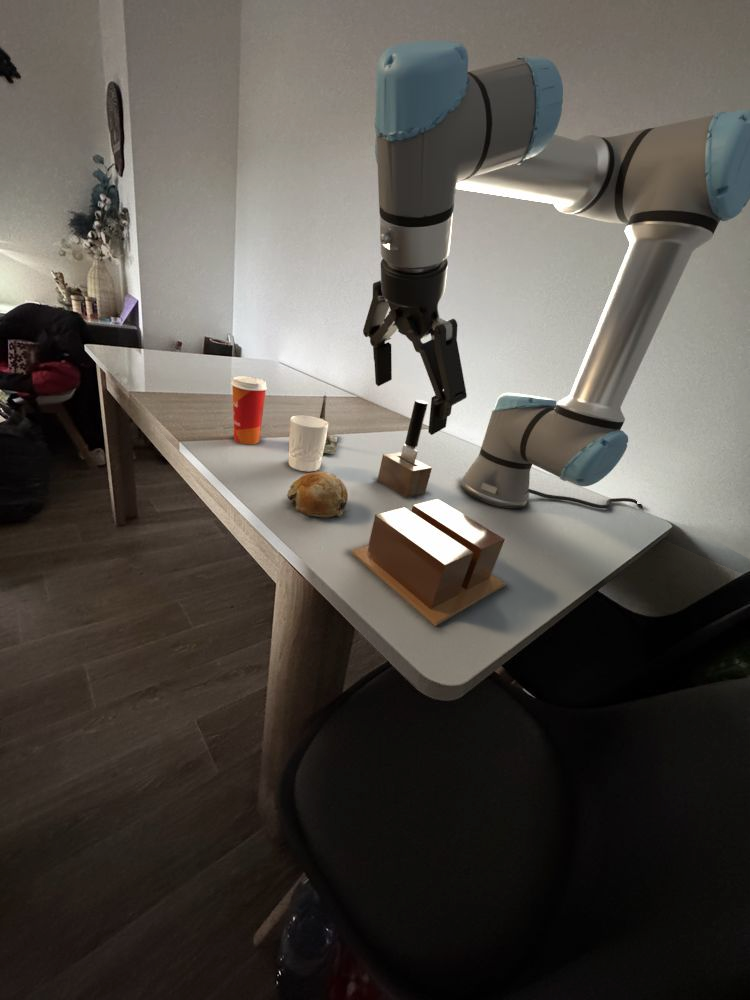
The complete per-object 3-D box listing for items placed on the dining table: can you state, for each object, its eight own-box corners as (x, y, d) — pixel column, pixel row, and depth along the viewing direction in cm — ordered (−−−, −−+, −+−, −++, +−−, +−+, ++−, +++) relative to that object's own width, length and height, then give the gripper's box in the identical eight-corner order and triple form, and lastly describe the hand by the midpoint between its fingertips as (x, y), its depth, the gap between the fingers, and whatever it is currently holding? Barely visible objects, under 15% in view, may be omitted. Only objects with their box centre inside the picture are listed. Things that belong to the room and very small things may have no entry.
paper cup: (236, 432, 95) (238, 373, 89) (267, 438, 96) (271, 380, 90) (224, 442, 88) (225, 379, 82) (257, 448, 89) (261, 386, 83)
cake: (503, 586, 59) (521, 544, 55) (435, 626, 48) (452, 577, 45) (422, 530, 69) (432, 492, 66) (351, 553, 59) (360, 509, 55)
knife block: (425, 493, 84) (432, 467, 82) (405, 497, 80) (412, 471, 78) (396, 476, 90) (402, 451, 87) (377, 479, 86) (382, 454, 83)
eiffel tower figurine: (300, 431, 105) (305, 381, 100) (337, 437, 107) (345, 388, 101) (292, 450, 92) (298, 393, 86) (335, 457, 93) (344, 401, 88)
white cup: (319, 475, 82) (326, 429, 78) (282, 468, 81) (286, 422, 77) (324, 462, 89) (330, 419, 85) (290, 456, 88) (294, 412, 84)
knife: (411, 489, 85) (433, 404, 77) (403, 491, 83) (424, 404, 75) (399, 481, 87) (418, 398, 79) (390, 483, 85) (409, 398, 77)
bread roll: (322, 540, 67) (348, 508, 63) (273, 504, 66) (297, 470, 62) (338, 515, 76) (362, 486, 72) (295, 482, 75) (317, 451, 71)
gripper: (327, 230, 48) (345, 373, 66) (465, 318, 36) (442, 465, 54) (377, 213, 51) (382, 356, 68) (522, 291, 38) (483, 441, 56)
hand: (408, 404), depth 61 cm, fingers open, 13 cm apart
